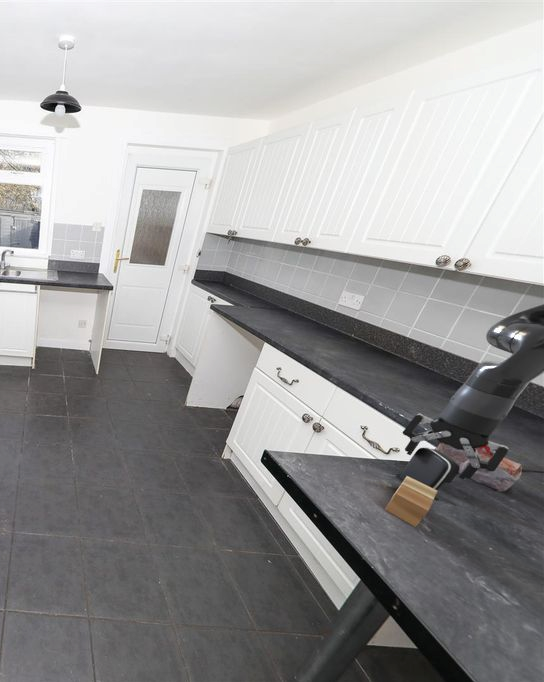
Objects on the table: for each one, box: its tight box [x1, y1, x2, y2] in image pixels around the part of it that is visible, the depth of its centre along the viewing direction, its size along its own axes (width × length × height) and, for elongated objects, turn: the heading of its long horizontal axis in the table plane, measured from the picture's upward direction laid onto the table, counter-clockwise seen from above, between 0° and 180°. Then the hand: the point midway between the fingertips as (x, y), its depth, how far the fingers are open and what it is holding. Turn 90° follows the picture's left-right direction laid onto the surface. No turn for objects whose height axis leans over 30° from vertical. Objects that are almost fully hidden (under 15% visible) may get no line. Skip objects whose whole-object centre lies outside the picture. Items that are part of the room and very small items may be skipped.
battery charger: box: [398, 447, 459, 491], centre depth 79 cm, size 7×4×11 cm, turn 172°
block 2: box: [384, 484, 434, 528], centre depth 73 cm, size 5×5×5 cm
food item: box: [434, 442, 523, 492], centre depth 87 cm, size 14×8×10 cm, turn 31°
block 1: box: [390, 476, 438, 502], centre depth 77 cm, size 5×5×5 cm
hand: (433, 464), depth 78 cm, fingers open, 8 cm apart
